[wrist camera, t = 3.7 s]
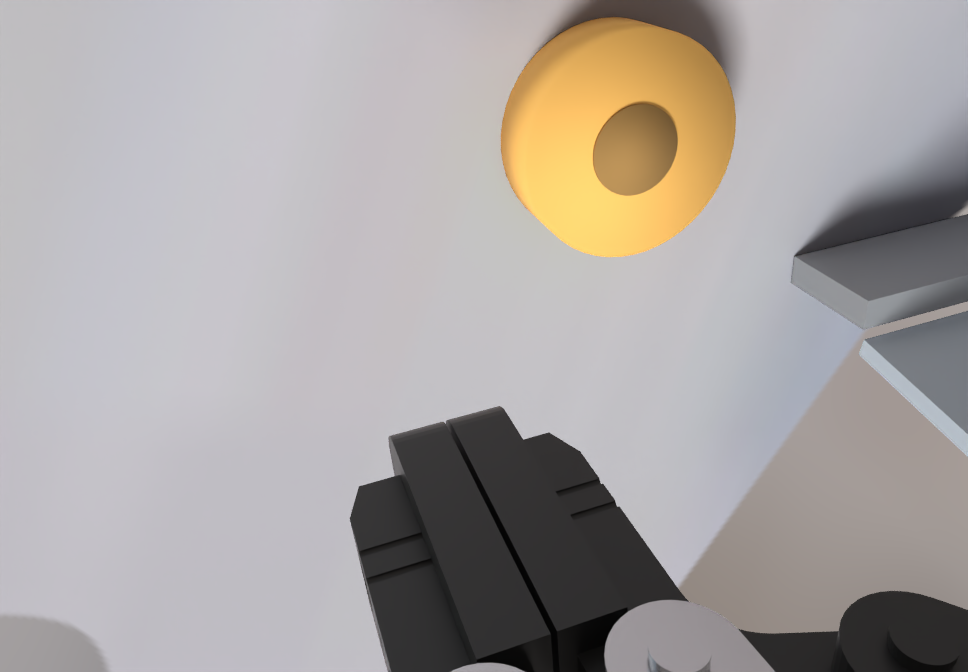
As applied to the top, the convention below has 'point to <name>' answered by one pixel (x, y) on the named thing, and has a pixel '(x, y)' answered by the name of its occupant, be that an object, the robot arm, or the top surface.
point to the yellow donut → (618, 135)
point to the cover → (928, 370)
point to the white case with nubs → (890, 273)
